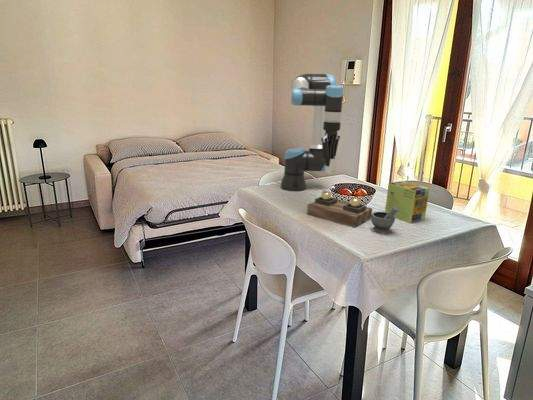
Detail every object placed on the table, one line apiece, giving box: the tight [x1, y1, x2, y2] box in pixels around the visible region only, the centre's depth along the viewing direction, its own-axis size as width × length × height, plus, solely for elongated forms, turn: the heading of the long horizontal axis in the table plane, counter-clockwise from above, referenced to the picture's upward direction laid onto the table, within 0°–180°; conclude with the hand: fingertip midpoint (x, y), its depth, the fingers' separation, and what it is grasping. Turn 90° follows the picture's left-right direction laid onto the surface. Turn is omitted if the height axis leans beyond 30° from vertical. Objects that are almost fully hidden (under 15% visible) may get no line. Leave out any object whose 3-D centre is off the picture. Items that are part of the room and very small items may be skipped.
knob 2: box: [349, 197, 361, 209], centre depth 171 cm, size 4×4×5 cm
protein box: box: [384, 180, 431, 224], centre depth 178 cm, size 10×15×16 cm
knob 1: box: [321, 190, 332, 201], centre depth 180 cm, size 4×4×5 cm
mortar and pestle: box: [370, 206, 399, 234], centre depth 160 cm, size 11×9×12 cm
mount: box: [306, 195, 373, 228], centre depth 177 cm, size 16×25×7 cm, turn 50°
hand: (328, 172), depth 176 cm, fingers closed
